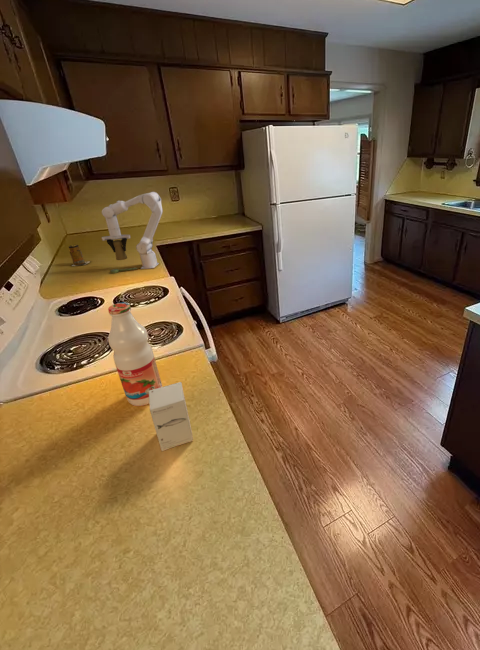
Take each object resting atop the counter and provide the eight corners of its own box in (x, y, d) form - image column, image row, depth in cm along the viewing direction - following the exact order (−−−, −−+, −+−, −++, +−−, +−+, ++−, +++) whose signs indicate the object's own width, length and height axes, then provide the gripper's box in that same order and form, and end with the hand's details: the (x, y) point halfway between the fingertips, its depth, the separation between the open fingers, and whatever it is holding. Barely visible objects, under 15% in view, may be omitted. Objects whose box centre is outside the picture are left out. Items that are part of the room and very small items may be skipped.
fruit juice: (169, 385, 96) (147, 298, 84) (152, 408, 88) (124, 315, 76) (140, 383, 98) (114, 297, 86) (120, 405, 89) (87, 314, 77)
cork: (129, 257, 197) (125, 239, 193) (123, 260, 192) (118, 241, 187) (120, 257, 198) (115, 239, 193) (114, 260, 193) (109, 241, 188)
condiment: (76, 262, 211) (70, 244, 206) (90, 261, 212) (84, 243, 207) (71, 266, 205) (64, 247, 200) (85, 265, 206) (79, 246, 201)
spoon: (138, 268, 197) (138, 266, 196) (137, 270, 193) (137, 268, 192) (111, 271, 193) (110, 269, 192) (109, 273, 189) (109, 271, 189)
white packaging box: (161, 452, 75) (148, 410, 69) (159, 430, 81) (147, 389, 75) (194, 441, 77) (184, 399, 72) (190, 420, 83) (181, 380, 78)
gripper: (98, 230, 182) (104, 254, 188) (126, 228, 186) (132, 252, 192) (101, 228, 188) (107, 251, 194) (128, 226, 192) (134, 248, 198)
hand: (119, 251), depth 193 cm, fingers closed on cork, 5 cm apart
